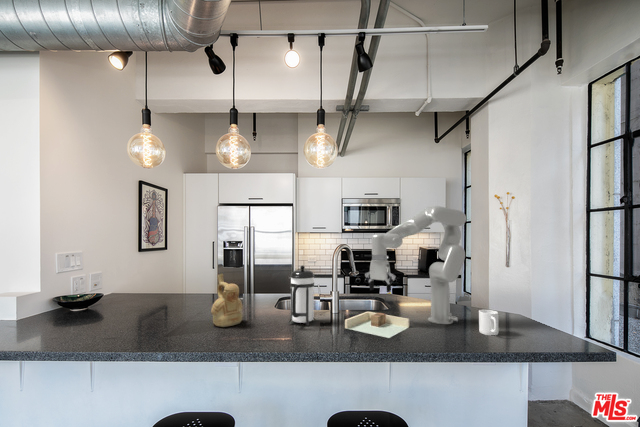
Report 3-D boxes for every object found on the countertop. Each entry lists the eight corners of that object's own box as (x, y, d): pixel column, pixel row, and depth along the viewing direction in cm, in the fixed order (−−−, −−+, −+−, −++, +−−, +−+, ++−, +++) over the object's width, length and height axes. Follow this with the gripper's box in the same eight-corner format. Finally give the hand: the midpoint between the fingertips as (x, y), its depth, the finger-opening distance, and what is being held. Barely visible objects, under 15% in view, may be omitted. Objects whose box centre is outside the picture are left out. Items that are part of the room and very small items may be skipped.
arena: (409, 328, 170) (409, 318, 170) (389, 339, 153) (389, 328, 153) (367, 319, 185) (367, 311, 185) (344, 329, 168) (344, 319, 168)
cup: (493, 330, 166) (493, 309, 167) (505, 338, 154) (505, 316, 155) (476, 330, 167) (476, 309, 167) (487, 338, 155) (486, 315, 155)
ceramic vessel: (219, 331, 163) (220, 278, 164) (203, 322, 178) (204, 274, 179) (250, 324, 175) (251, 275, 176) (233, 317, 189) (233, 272, 190)
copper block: (378, 327, 169) (377, 316, 169) (370, 325, 172) (370, 315, 172) (385, 323, 175) (385, 313, 176) (378, 322, 178) (378, 312, 178)
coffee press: (282, 320, 182) (282, 264, 183) (310, 317, 188) (310, 263, 190) (292, 329, 166) (293, 268, 167) (322, 326, 172) (322, 266, 174)
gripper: (397, 258, 175) (398, 291, 175) (368, 256, 186) (369, 288, 185) (391, 259, 169) (392, 293, 169) (361, 257, 180) (362, 290, 179)
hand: (380, 290), depth 177 cm, fingers open, 9 cm apart
